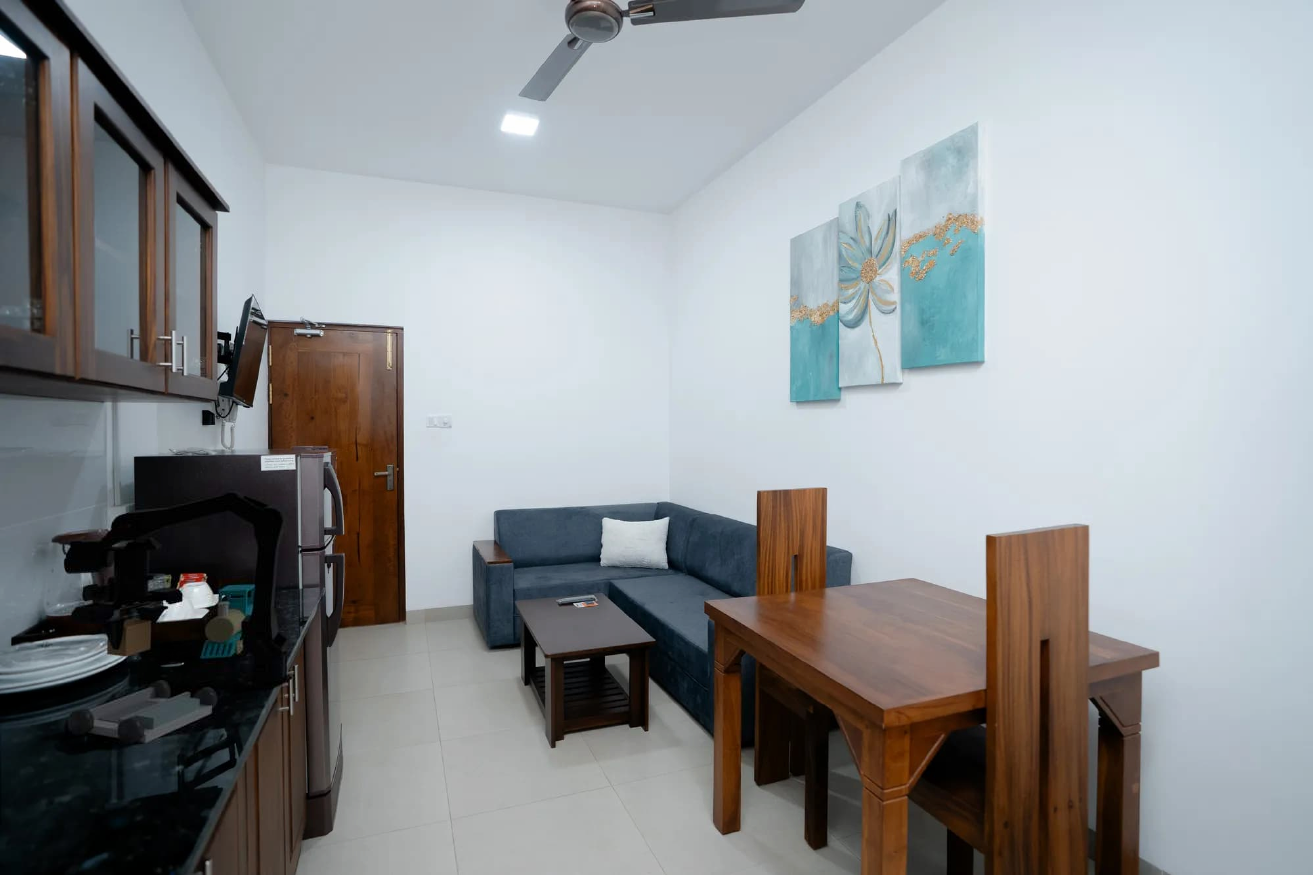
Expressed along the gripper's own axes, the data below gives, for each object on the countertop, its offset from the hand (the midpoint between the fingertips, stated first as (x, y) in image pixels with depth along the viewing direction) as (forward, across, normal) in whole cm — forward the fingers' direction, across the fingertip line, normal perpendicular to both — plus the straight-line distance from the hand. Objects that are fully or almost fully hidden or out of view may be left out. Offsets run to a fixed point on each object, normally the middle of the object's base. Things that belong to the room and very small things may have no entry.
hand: (129, 645), depth 134 cm
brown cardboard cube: (+1, 0, 0) cm, 1 cm away
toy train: (+11, -30, -7) cm, 32 cm away
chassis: (+11, +8, +15) cm, 20 cm away
